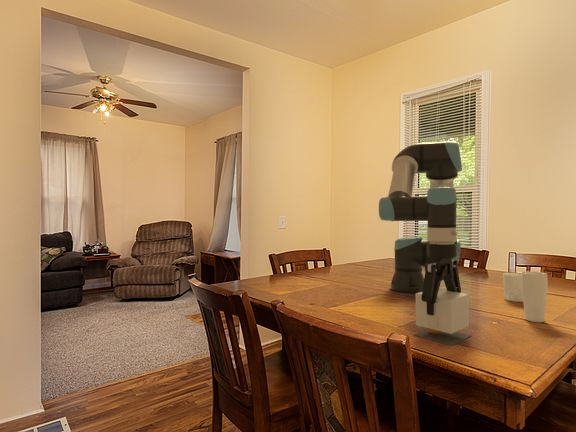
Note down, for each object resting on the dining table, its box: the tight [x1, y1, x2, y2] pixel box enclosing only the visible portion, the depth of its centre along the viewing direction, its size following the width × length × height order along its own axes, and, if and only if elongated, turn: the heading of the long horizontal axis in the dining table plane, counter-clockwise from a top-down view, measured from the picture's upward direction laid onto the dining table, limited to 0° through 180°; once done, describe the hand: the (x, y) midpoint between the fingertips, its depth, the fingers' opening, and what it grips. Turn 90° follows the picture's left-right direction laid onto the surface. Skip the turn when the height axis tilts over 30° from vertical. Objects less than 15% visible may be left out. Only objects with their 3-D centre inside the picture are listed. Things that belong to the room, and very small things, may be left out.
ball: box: [426, 328, 442, 335], centre depth 104 cm, size 5×5×5 cm
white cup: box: [502, 272, 523, 303], centre depth 143 cm, size 8×8×10 cm
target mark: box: [413, 328, 472, 346], centre depth 103 cm, size 11×11×1 cm
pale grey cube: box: [415, 288, 470, 334], centre depth 103 cm, size 10×10×9 cm
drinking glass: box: [521, 270, 548, 323], centre depth 116 cm, size 7×7×15 cm
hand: (442, 322), depth 103 cm, fingers closed on pale grey cube, 10 cm apart
